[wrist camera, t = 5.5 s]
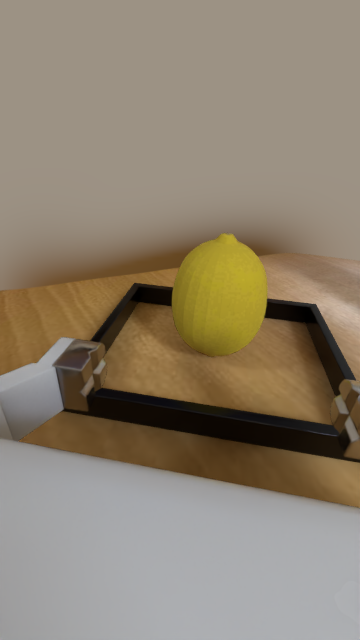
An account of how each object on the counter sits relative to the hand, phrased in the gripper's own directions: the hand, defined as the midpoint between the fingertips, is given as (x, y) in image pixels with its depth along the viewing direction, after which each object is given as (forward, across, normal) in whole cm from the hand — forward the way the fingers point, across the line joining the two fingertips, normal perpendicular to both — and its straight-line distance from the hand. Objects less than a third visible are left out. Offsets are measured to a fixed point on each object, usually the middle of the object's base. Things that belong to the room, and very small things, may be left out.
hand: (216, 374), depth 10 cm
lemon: (+8, 0, +5) cm, 9 cm away
